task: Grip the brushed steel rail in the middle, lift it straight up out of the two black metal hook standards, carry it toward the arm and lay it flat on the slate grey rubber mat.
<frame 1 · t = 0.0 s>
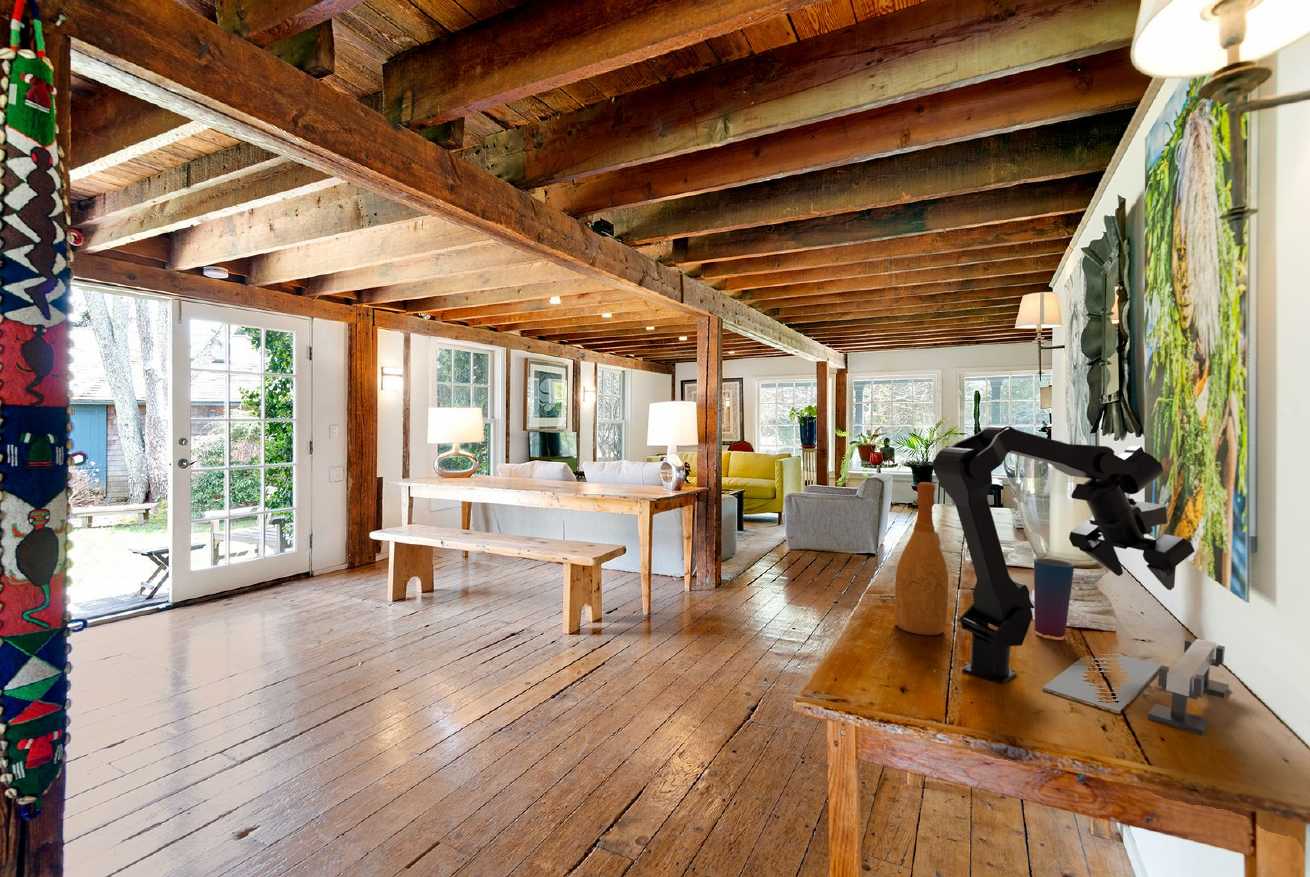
hand: (1144, 581, 110), 15 cm above the table, tool tilted 35°, fingers open, 9 cm apart
mat: (1105, 678, 104), on the table
wine bottle: (919, 629, 126), on the table
cup: (1049, 637, 124), on the table
standards: (1190, 703, 95), on the table
rail: (1192, 673, 95), point 5 cm above the table, touching standards
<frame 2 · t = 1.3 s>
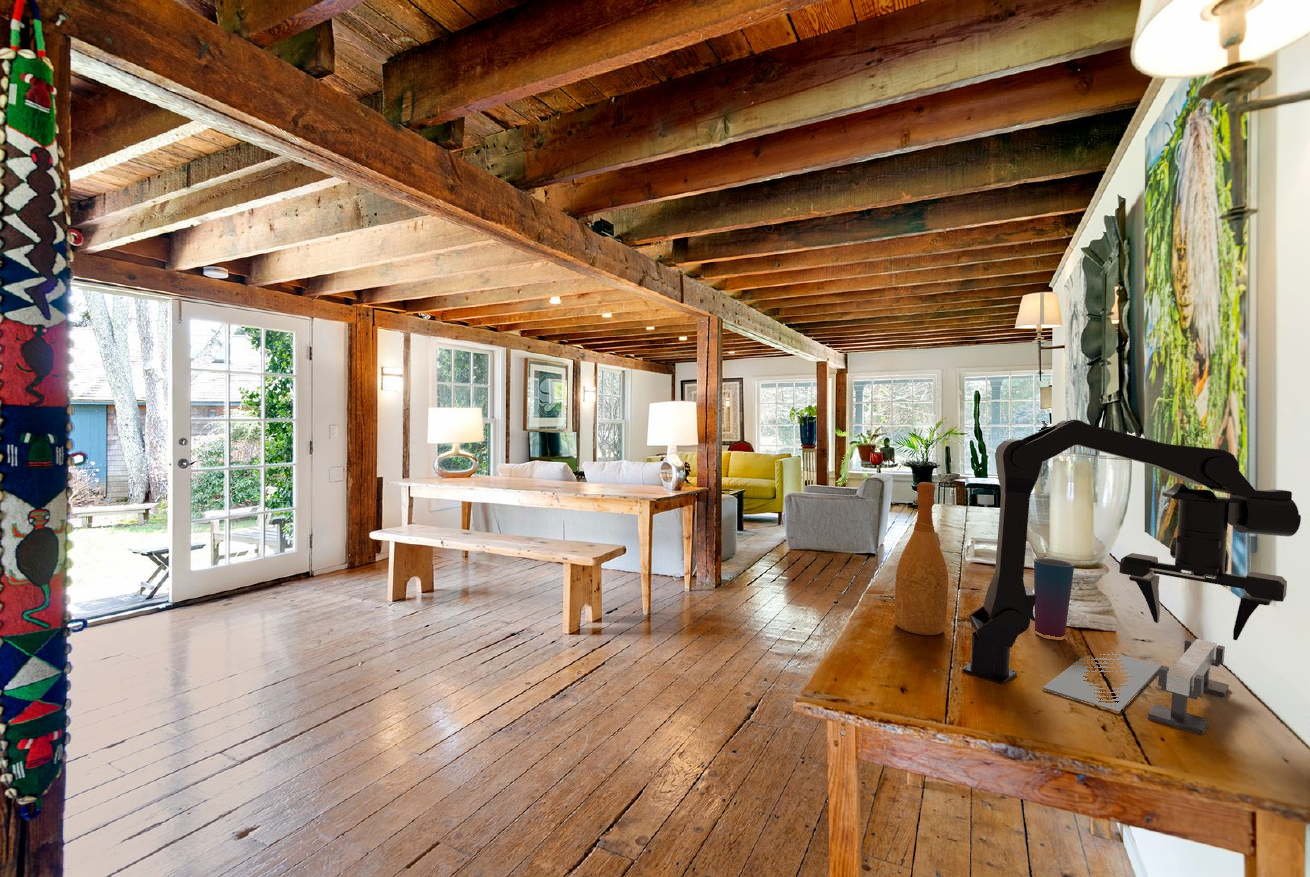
hand: (1194, 630, 95), 11 cm above the table, tool pointing down, fingers open, 9 cm apart
nothing on the table moved.
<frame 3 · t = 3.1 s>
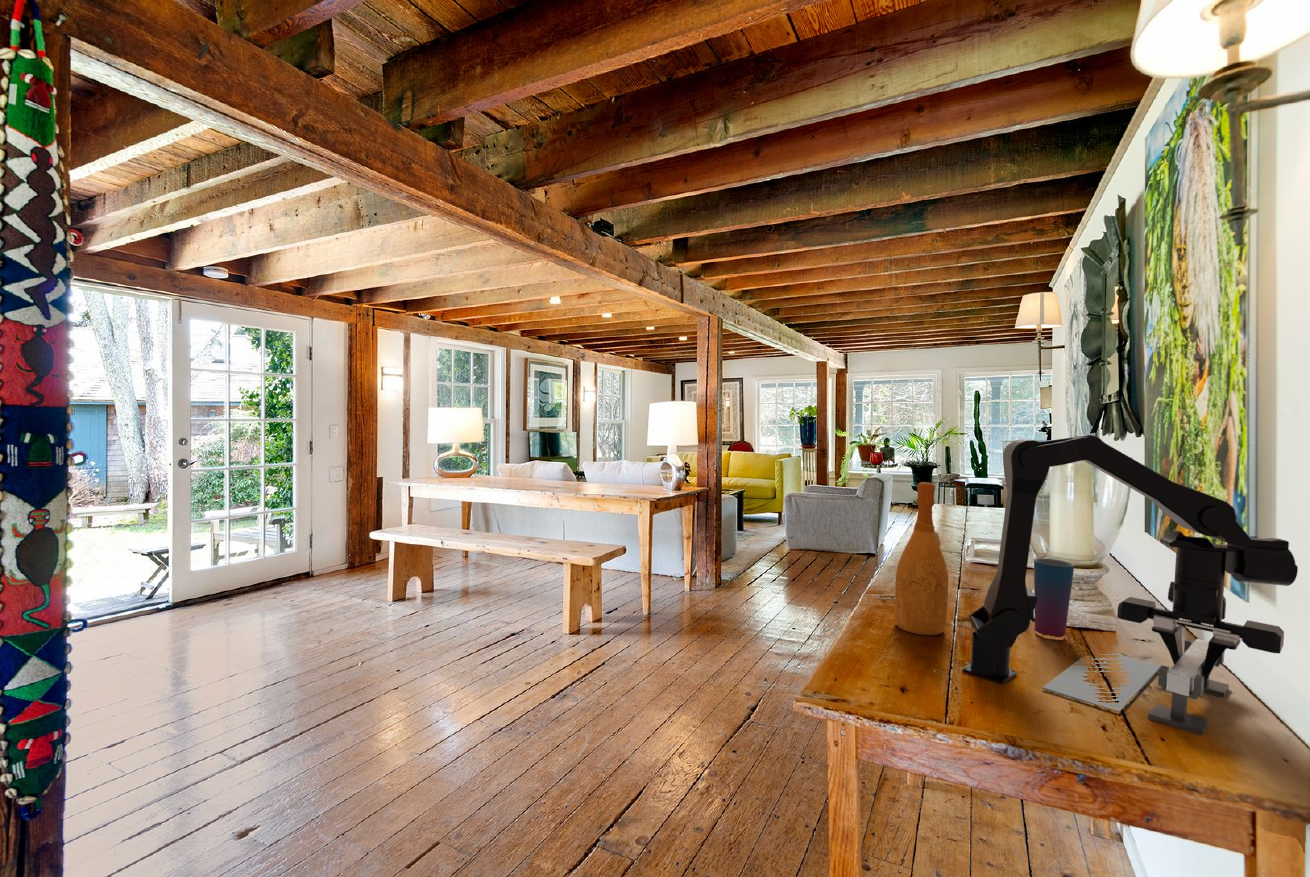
hand: (1192, 677, 95), 4 cm above the table, tool pointing down, fingers closed on rail, 2 cm apart
rail: (1192, 673, 95), point 5 cm above the table, touching gripper, standards
everything else where it was.
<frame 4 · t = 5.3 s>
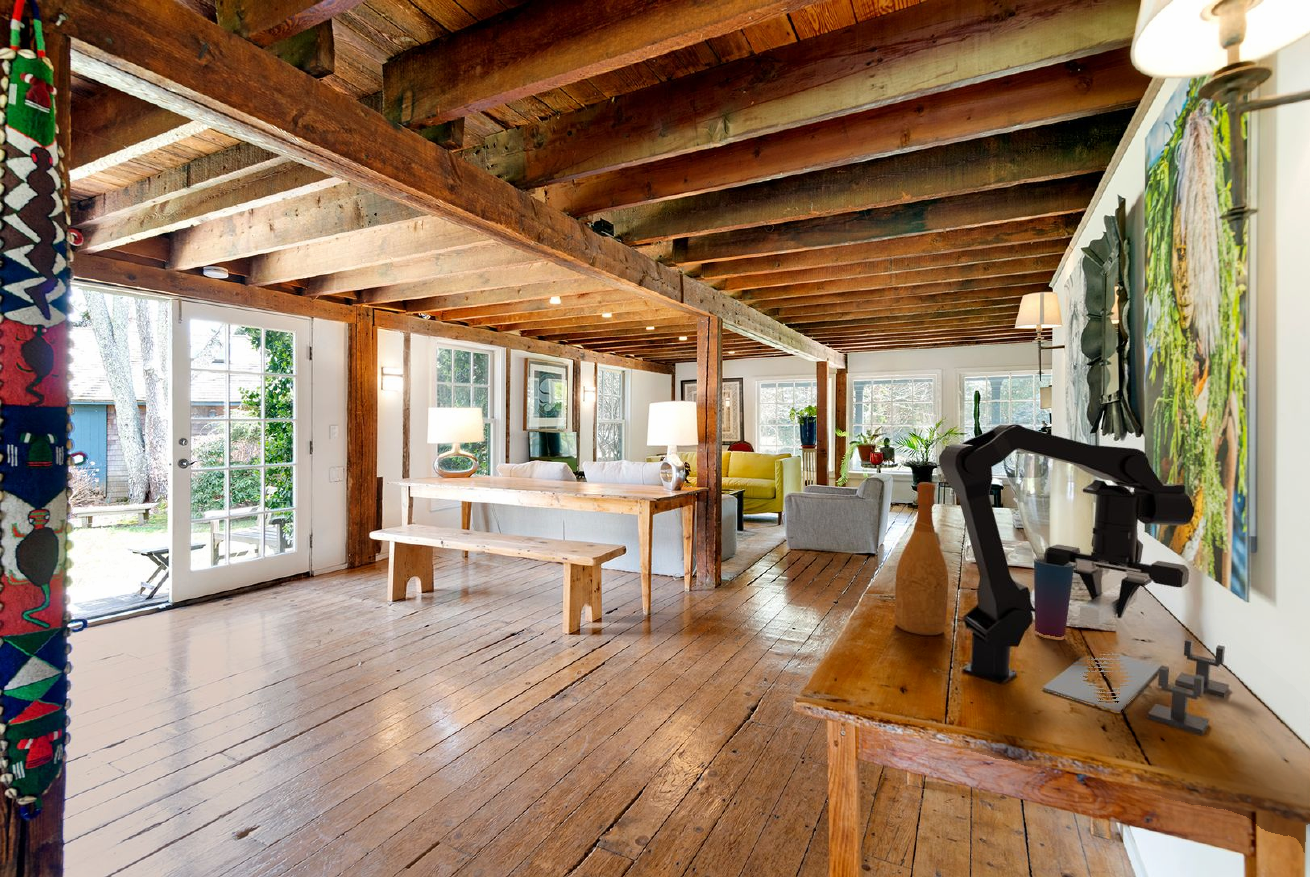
hand: (1109, 615, 103), 11 cm above the table, tool pointing down, fingers closed on rail, 2 cm apart
rail: (1109, 610, 103), point 12 cm above the table, touching gripper
everything else where it was.
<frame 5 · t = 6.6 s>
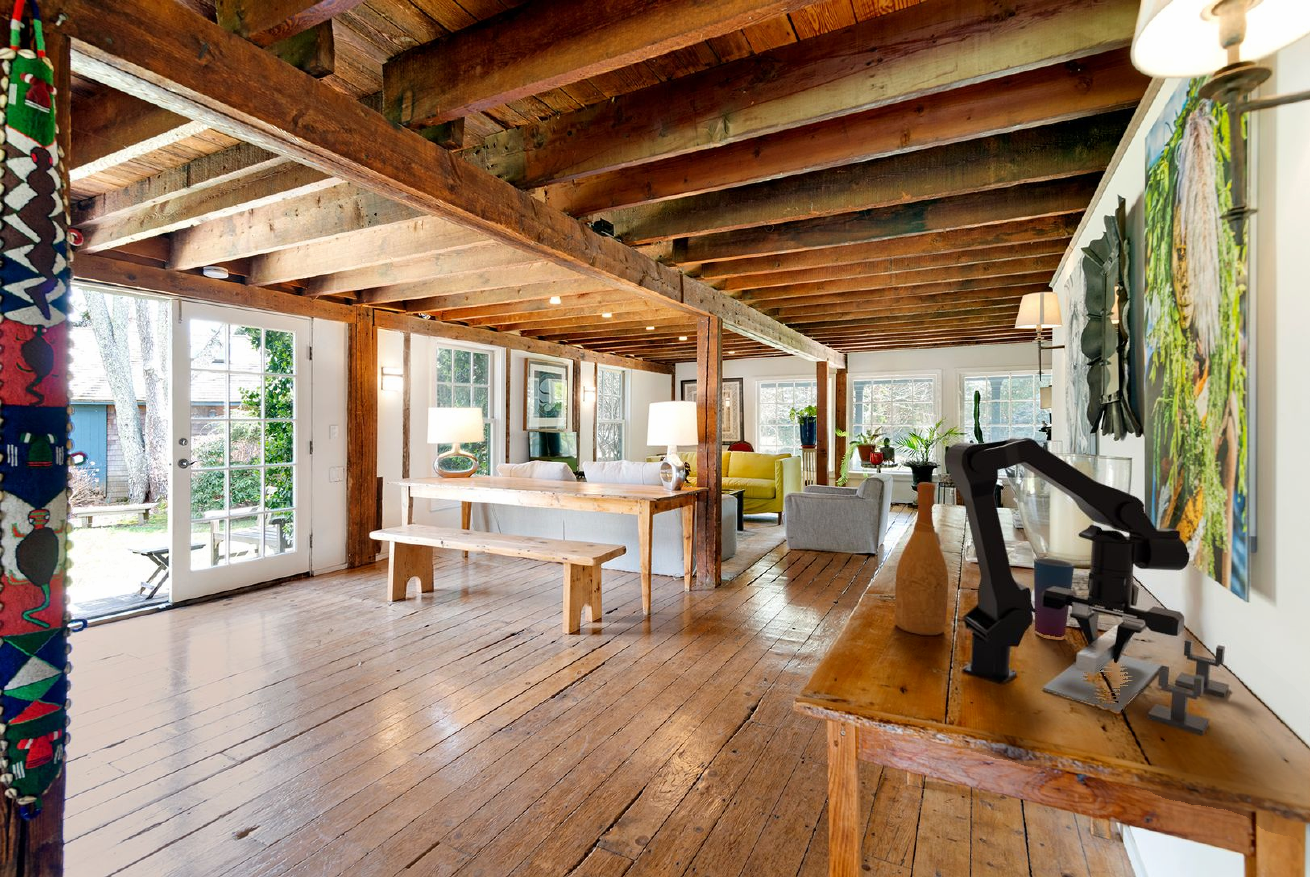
hand: (1105, 659, 104), 3 cm above the table, tool pointing down, fingers closed on rail, 2 cm apart
rail: (1105, 655, 104), point 4 cm above the table, touching gripper
everything else where it was.
when the fingers open (1 cm above the table, at t = 7.6 s): rail drops 2 cm, resting on mat.
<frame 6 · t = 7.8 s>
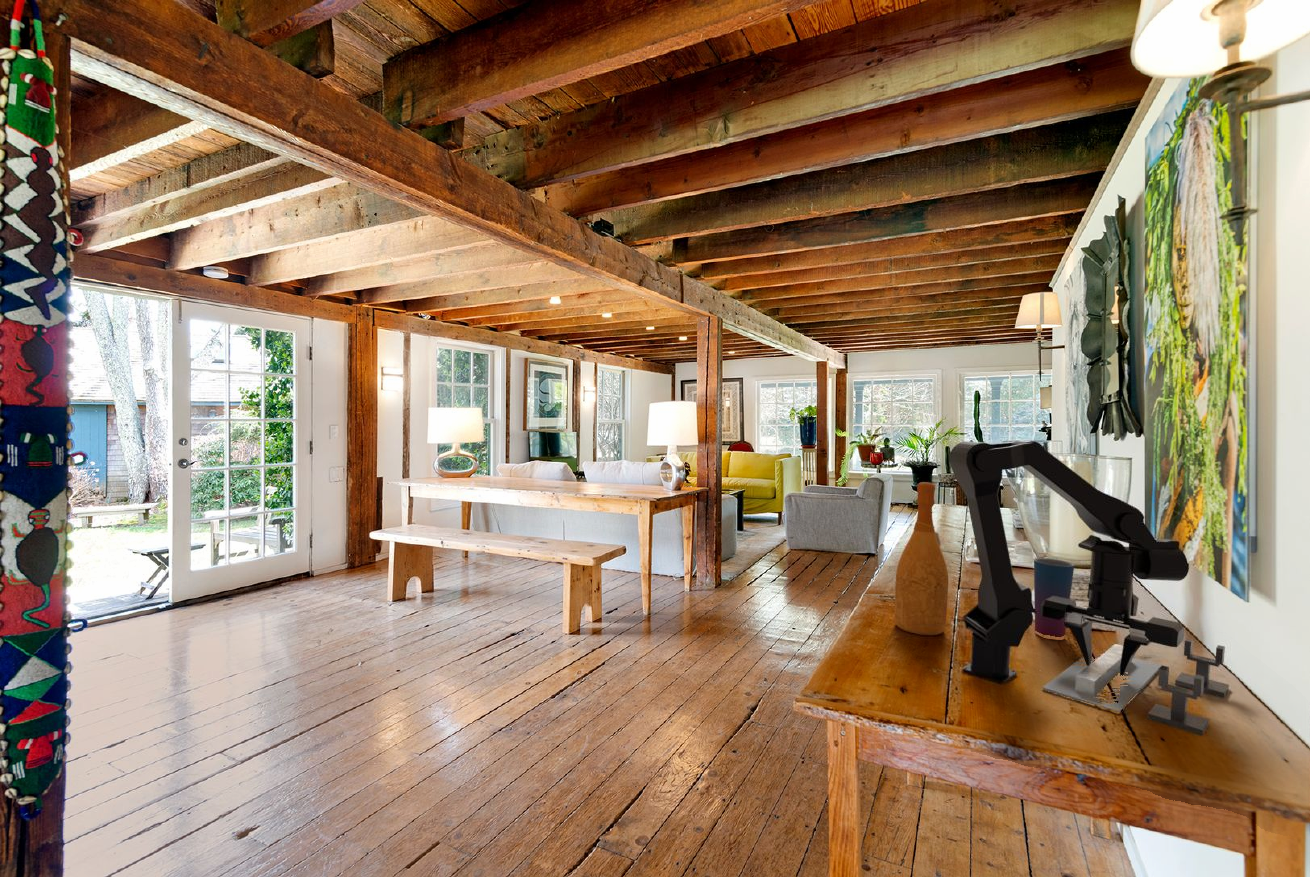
hand: (1105, 670, 104), 1 cm above the table, tool pointing down, fingers open, 4 cm apart
rail: (1105, 675, 104), resting on mat
everything else where it was.
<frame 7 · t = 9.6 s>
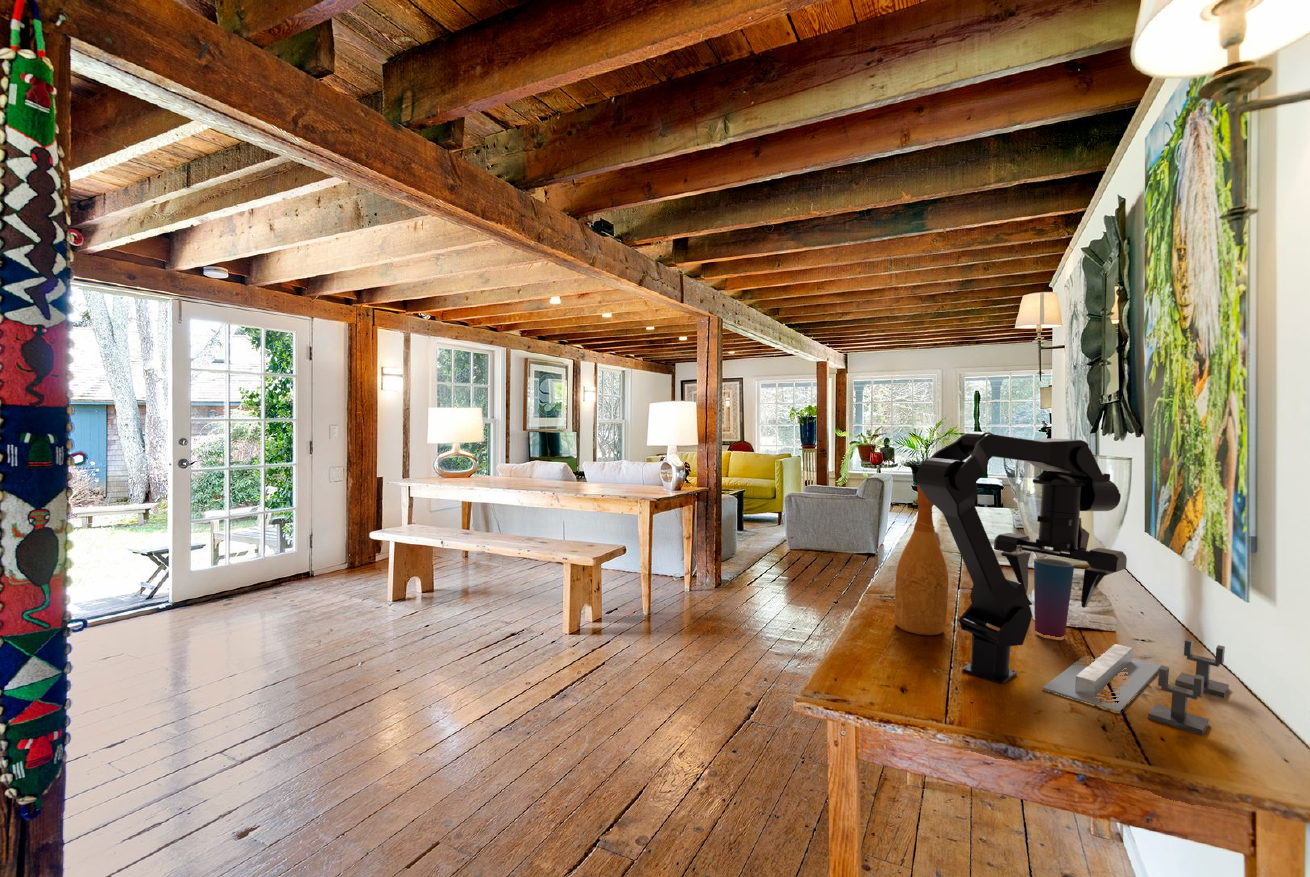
hand: (1053, 600, 108), 12 cm above the table, tool pointing down, fingers open, 9 cm apart
nothing on the table moved.
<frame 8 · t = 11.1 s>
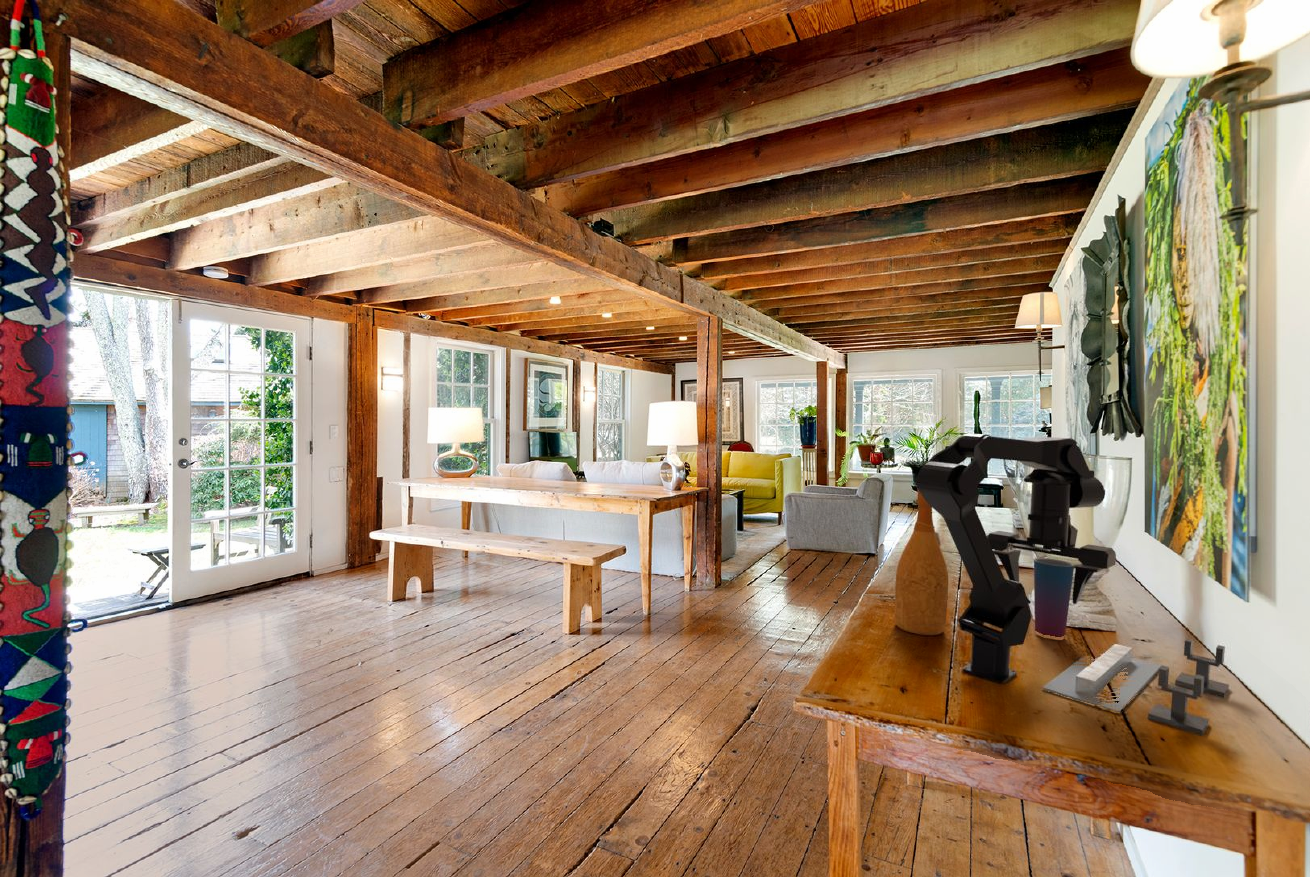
hand: (1044, 597, 109), 12 cm above the table, tool pointing down, fingers open, 9 cm apart
nothing on the table moved.
at the end: rail inside the target area on the mat (0.0 cm from its centre), point 0.5 cm above the mat's base; rail touching mat; the gripper is holding nothing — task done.
